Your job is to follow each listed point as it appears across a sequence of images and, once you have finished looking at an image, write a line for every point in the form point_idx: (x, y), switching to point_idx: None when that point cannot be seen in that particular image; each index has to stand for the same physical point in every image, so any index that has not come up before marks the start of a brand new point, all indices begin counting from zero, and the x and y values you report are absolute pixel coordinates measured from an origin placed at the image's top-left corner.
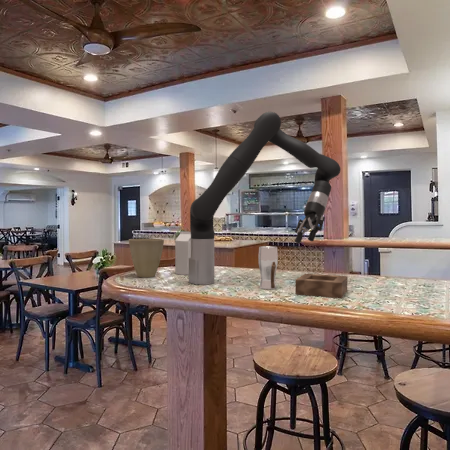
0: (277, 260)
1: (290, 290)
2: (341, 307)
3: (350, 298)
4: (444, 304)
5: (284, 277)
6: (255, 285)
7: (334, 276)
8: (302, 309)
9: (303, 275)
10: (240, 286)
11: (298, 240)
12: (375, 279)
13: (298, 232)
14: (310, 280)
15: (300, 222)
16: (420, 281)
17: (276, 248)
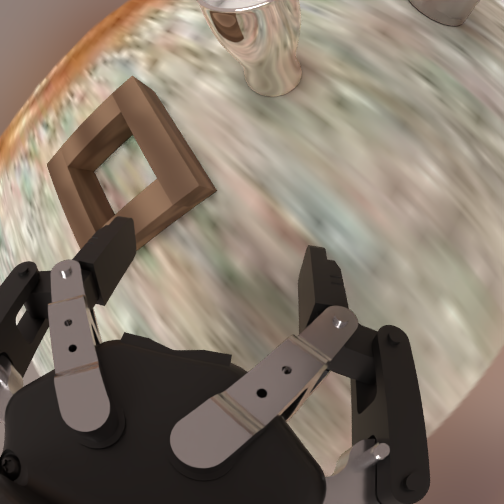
0: (219, 41)
1: (201, 110)
2: (46, 116)
3: None
4: None
5: (419, 280)
6: (334, 68)
7: None
8: (77, 48)
9: (169, 145)
10: (340, 27)
11: (303, 273)
12: None
13: (323, 311)
14: (99, 107)
15: (374, 451)
16: None
17: (198, 3)
